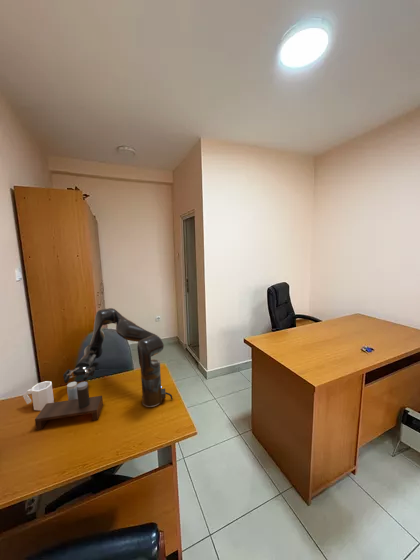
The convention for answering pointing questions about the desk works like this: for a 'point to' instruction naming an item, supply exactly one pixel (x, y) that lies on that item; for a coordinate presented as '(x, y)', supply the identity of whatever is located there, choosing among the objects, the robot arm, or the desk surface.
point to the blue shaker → (72, 391)
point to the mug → (40, 395)
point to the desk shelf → (68, 410)
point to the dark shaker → (83, 394)
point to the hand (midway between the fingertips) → (75, 380)
